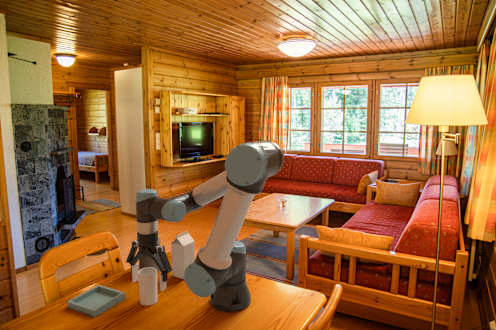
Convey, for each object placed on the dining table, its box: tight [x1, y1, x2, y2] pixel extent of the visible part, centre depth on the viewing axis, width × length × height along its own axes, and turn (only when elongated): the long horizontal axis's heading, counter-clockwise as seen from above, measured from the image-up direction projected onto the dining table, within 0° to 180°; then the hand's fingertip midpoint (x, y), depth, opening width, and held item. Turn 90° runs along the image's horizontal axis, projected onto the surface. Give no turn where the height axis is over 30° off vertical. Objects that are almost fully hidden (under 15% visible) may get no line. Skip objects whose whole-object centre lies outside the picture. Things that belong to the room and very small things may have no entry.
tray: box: [66, 284, 126, 318], centre depth 129 cm, size 14×14×2 cm
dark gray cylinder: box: [138, 237, 162, 273], centre depth 157 cm, size 10×10×15 cm
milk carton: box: [170, 230, 196, 281], centre depth 151 cm, size 7×7×19 cm
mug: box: [137, 267, 158, 307], centre depth 131 cm, size 10×7×12 cm, turn 170°
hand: (149, 284), depth 132 cm, fingers open, 13 cm apart
